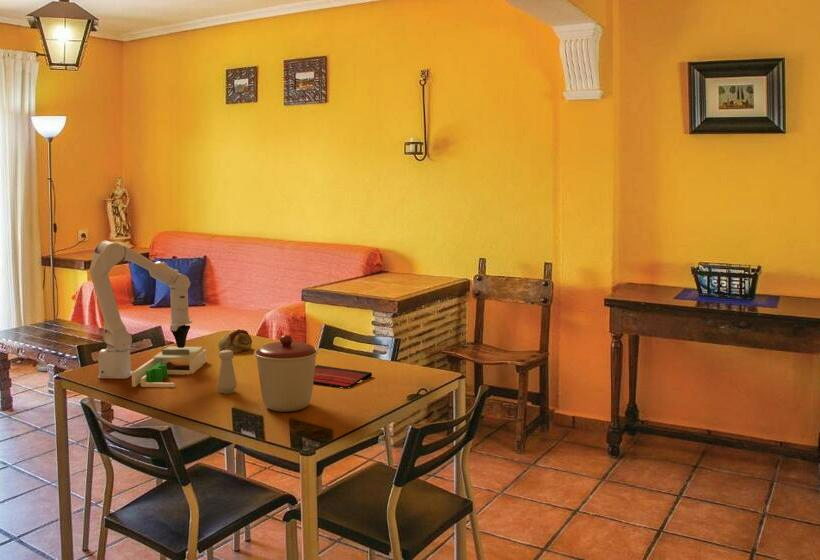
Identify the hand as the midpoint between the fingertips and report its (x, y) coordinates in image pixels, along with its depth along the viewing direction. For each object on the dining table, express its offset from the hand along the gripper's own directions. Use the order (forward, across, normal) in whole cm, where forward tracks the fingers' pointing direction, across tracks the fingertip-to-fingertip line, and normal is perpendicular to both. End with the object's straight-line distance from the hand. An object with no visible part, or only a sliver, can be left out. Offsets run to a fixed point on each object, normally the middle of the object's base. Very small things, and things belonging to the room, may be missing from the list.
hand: (181, 347), depth 269 cm
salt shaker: (+7, -30, -24) cm, 39 cm away
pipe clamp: (+7, -18, +2) cm, 19 cm away
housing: (+7, -10, 0) cm, 12 cm away
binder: (+7, -13, -54) cm, 56 cm away
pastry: (+7, +26, -12) cm, 29 cm away
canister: (+7, -43, -45) cm, 63 cm away
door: (+2, -2, 0) cm, 3 cm away
